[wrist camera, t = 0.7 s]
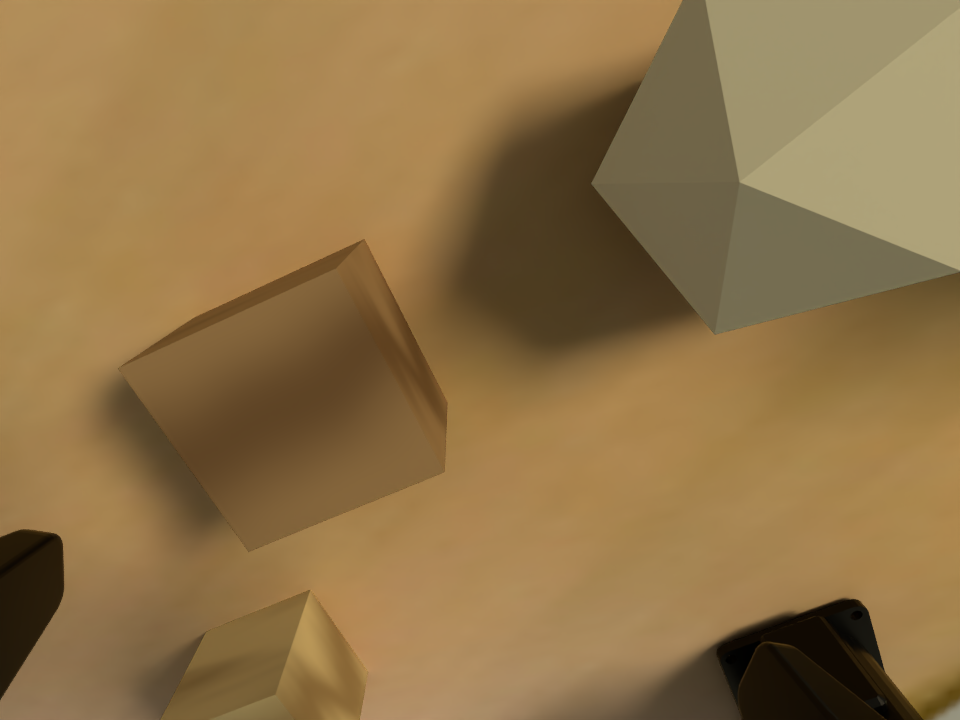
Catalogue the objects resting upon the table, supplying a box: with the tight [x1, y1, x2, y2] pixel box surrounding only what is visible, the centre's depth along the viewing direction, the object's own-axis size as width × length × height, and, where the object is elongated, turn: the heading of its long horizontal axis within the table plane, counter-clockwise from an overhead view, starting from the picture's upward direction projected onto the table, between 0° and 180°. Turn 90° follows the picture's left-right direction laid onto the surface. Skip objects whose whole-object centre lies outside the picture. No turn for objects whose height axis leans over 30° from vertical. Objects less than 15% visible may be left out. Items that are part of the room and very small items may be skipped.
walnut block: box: [118, 239, 447, 552], centre depth 19 cm, size 6×6×5 cm
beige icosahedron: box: [591, 0, 960, 334], centre depth 15 cm, size 8×9×10 cm
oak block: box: [161, 590, 368, 720], centre depth 23 cm, size 5×5×5 cm
